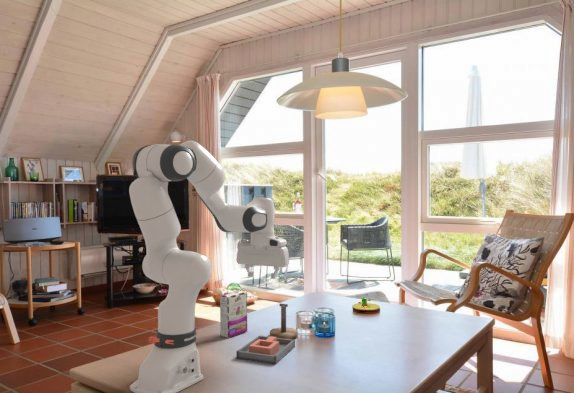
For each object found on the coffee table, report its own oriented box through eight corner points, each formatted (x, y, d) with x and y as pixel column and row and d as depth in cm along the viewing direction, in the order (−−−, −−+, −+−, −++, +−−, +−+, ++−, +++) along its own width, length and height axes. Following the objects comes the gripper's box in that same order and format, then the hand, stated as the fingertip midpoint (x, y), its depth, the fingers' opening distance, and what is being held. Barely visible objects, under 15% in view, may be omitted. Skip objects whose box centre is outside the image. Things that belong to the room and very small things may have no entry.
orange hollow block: (270, 357, 156) (270, 348, 155) (249, 354, 158) (249, 345, 158) (283, 346, 167) (283, 337, 167) (263, 343, 170) (263, 335, 170)
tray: (275, 364, 151) (275, 356, 151) (236, 358, 157) (236, 351, 157) (295, 346, 169) (295, 340, 169) (258, 342, 174) (258, 335, 174)
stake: (291, 342, 174) (291, 308, 174) (265, 339, 178) (265, 305, 178) (301, 334, 184) (301, 301, 184) (276, 331, 188) (276, 299, 188)
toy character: (379, 311, 222) (379, 297, 222) (364, 315, 214) (364, 301, 213) (361, 307, 230) (361, 293, 230) (346, 311, 221) (346, 297, 221)
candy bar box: (238, 329, 190) (238, 290, 190) (247, 331, 187) (247, 291, 187) (219, 336, 181) (219, 294, 181) (228, 338, 178) (228, 296, 178)
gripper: (233, 239, 171) (233, 276, 171) (284, 242, 163) (283, 281, 163) (241, 238, 177) (241, 274, 177) (290, 240, 169) (290, 278, 169)
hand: (262, 277), depth 170 cm, fingers open, 8 cm apart
